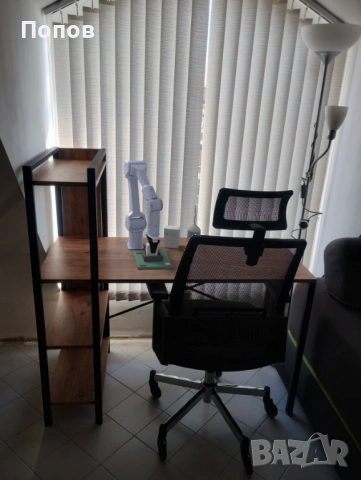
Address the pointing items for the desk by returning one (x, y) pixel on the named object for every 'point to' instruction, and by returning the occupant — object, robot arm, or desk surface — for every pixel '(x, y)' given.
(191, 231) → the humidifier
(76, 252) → the desk surface
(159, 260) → the board
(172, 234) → the small box
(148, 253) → the plug block
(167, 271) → the desk surface
